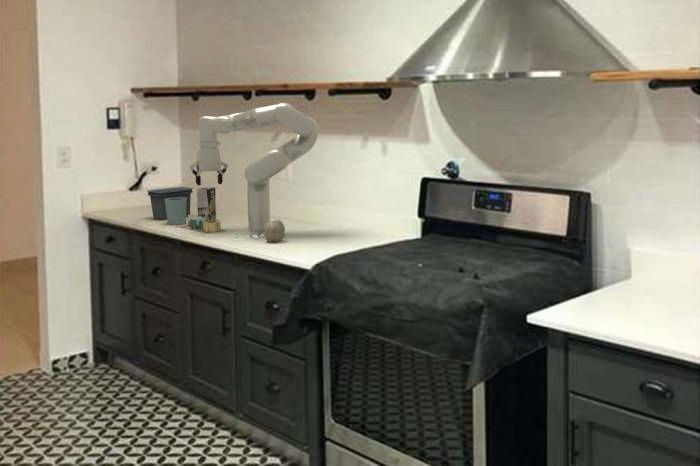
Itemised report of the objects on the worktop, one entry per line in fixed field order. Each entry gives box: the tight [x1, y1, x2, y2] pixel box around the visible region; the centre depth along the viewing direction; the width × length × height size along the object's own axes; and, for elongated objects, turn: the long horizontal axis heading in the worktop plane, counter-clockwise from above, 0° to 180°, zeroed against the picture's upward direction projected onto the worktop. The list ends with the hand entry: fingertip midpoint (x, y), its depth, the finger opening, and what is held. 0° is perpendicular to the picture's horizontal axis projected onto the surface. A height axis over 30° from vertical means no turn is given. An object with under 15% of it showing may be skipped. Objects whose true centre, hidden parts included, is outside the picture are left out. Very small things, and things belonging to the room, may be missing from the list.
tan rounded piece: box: [261, 219, 286, 243], centre depth 336 cm, size 9×8×10 cm
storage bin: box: [146, 186, 194, 221], centre depth 406 cm, size 21×16×14 cm
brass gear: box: [203, 220, 222, 233], centre depth 355 cm, size 8×8×4 cm
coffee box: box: [196, 186, 217, 221], centre depth 392 cm, size 9×6×16 cm
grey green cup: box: [165, 197, 187, 226], centre depth 386 cm, size 10×10×12 cm
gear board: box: [174, 214, 227, 234], centre depth 362 cm, size 26×11×6 cm, turn 41°
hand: (209, 184), depth 355 cm, fingers open, 9 cm apart
